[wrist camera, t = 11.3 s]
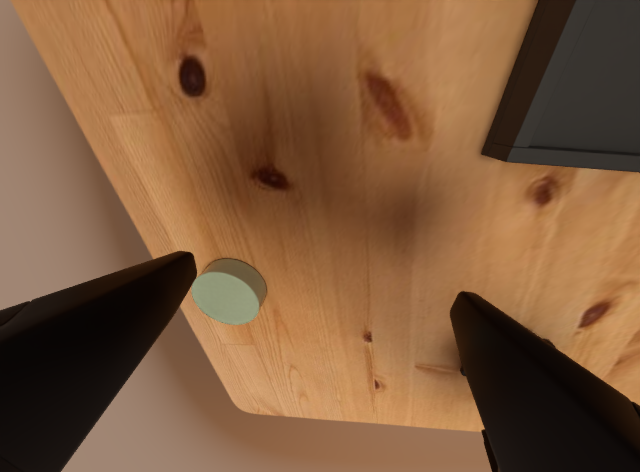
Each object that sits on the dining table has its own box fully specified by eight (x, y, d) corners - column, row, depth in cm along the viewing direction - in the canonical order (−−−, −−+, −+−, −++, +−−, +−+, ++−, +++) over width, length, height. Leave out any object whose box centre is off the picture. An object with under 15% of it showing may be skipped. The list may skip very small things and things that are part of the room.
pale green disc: (268, 312, 25) (261, 329, 23) (210, 304, 25) (198, 320, 23) (264, 262, 21) (256, 277, 20) (198, 254, 22) (183, 268, 20)
